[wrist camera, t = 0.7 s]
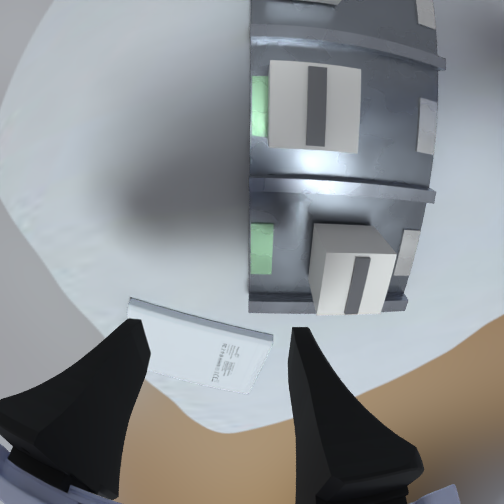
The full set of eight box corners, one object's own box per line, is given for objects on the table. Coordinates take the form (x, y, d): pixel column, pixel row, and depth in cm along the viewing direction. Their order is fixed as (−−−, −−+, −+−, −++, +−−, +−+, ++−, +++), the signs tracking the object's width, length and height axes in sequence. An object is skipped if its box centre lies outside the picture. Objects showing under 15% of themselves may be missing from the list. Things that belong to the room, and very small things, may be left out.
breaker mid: (339, 78, 14) (362, 68, 10) (336, 144, 16) (358, 154, 12) (268, 72, 14) (270, 59, 10) (267, 140, 16) (269, 148, 12)
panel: (418, -32, 10) (431, -42, 8) (395, 294, 22) (404, 310, 20) (252, -62, 10) (251, -77, 8) (249, 294, 22) (248, 312, 20)
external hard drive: (133, 294, 23) (273, 331, 25) (132, 354, 27) (248, 385, 28) (126, 305, 22) (273, 344, 23) (127, 365, 26) (247, 397, 27)
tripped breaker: (373, 225, 18) (398, 255, 14) (362, 278, 20) (381, 315, 16) (313, 223, 18) (326, 254, 14) (308, 278, 20) (317, 317, 16)
